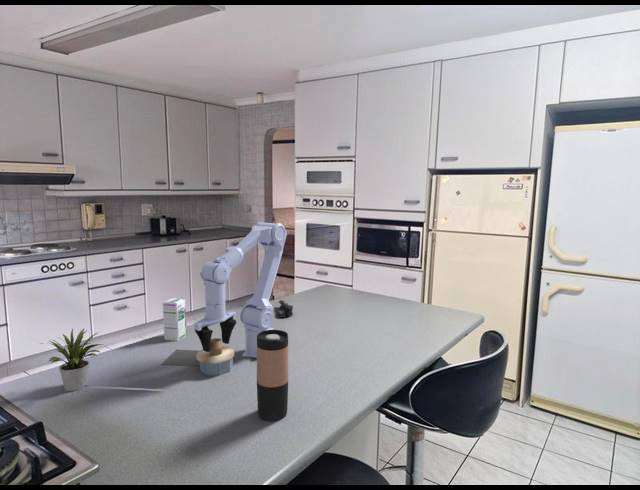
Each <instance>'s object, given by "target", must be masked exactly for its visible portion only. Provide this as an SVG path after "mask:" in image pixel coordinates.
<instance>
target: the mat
mask: <svg viewBox="0 0 640 490" xmlns="http://www.w3.org/2000/svg"><path fill="white" fill-rule="evenodd" d="M199 351H200V350H197V349H194V350H193V349H176V350H175V351H173V352H172V353H171V354H170V355H169V356H168V357H166V358H165V360H163V361H162V362H161V363H160V364H159V365H160V366H178V367H179V366H180V367H197V368H198V367H199V368H200V361H198V360H197V353H198V352H199Z"/></svg>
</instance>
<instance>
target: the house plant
mask: <svg viewBox="0 0 640 490" xmlns="http://www.w3.org/2000/svg"><path fill="white" fill-rule="evenodd" d="M70 332H71V333H70V339H69V338H68V336H67V335H65V334H64V333H62V336H63V338H64V340H62V338H61V337H58V336H56V338H58V339H61V340H62V341H63V343H64V345H65V346H66V347H67V348H64V347H63V345H61V343H59V342H58V341H56V340H55V339H51V338H50V340H48V344H50V345H52V346H54V347H55V348H57V349H56V351H57V352H59V353H61V354H62V355H63V356H64V357H65V358H66V360H67V361H66V360H65V359H62V358H60V357H57V356H53V357H50V358H49V360H48V362H50V364H53V363H54V362H55V363H56V362H59V361H60V362H61V361H62V362H64V363H63V364H61V365H60V366H59V367H58V369H59V372H60V376H61V379H62V383H63V386H64V390H65V391H67V392H78V391H79V390H83V389H84V388H86V387H87V384H88V381H89V380H88V379H89V378H88V377H89V372H90V370H89V369H90V361H88V360H87V359H85V358H87V357H92V356H95V357H99V356H98V355H97V353H101V351H100V350H98V349H91V348H95V347H97V346H102V345H105V344H104V343H102V344H100V343H97V344H96V343H95V344H90V345H89V342H92V341H93V339H92V338H93V337H94V336H96V335H98V332H96V333H94V334H92V335H91V336H89V338H88V339H87V340H86V341H84V342H83V343H82V340H83V338H84V335H85V334H86V332H87V329H86V330H85V328H82V329H81V330H80V331H79V333H78V334H77V337H76V338H75V339H74V328H71V330H70ZM40 344H43V342H41V343H39V345H40ZM86 345H87V346H86ZM90 349H91V350H90Z"/></svg>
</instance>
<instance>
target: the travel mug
mask: <svg viewBox="0 0 640 490" xmlns="http://www.w3.org/2000/svg"><path fill="white" fill-rule="evenodd" d="M288 395H289V334H288V332H286V331H285V330H282V329H274V330H266V331H262V332H260V333H258V334H257V358H256V399H257V415H258V417H259V418H260V419H261V420H263V421H267V422H276V421H281V420H282V419H284V418H285V417H286V416H287V414H288V401H289V398H288V397H289V396H288Z"/></svg>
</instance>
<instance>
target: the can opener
mask: <svg viewBox="0 0 640 490" xmlns="http://www.w3.org/2000/svg"><path fill="white" fill-rule="evenodd" d="M278 304H280V306H279V309H280V310H278V311H277V312H276V313H277V316H278V317H279V318H286V317H290V316H291V317H292V316H293V315H294V312H293V309H294V305H292V304H291V305H290V304H289V303H288V302H286V301H285V300H283V299H282V300H279V301H278Z"/></svg>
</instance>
